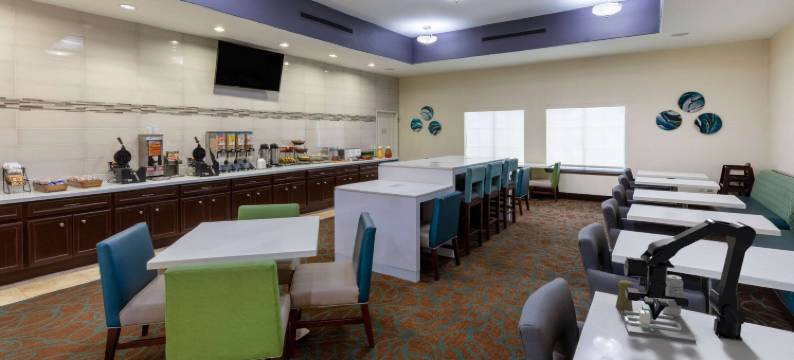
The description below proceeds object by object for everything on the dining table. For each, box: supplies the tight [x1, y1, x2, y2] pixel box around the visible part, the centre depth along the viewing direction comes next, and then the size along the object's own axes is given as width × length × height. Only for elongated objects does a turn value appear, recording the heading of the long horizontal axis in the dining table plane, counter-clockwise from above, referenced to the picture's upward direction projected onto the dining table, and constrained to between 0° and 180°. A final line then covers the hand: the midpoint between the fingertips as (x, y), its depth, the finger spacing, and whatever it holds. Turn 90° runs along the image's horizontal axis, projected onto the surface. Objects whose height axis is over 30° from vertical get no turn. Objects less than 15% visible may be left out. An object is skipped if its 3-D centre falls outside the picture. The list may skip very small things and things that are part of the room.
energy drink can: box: [662, 274, 684, 318], centre depth 159 cm, size 6×6×15 cm
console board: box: [620, 304, 697, 344], centre depth 150 cm, size 20×16×5 cm
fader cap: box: [638, 309, 651, 324], centre depth 151 cm, size 3×3×4 cm
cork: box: [615, 279, 634, 312], centre depth 166 cm, size 6×6×11 cm
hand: (654, 319), depth 150 cm, fingers closed
